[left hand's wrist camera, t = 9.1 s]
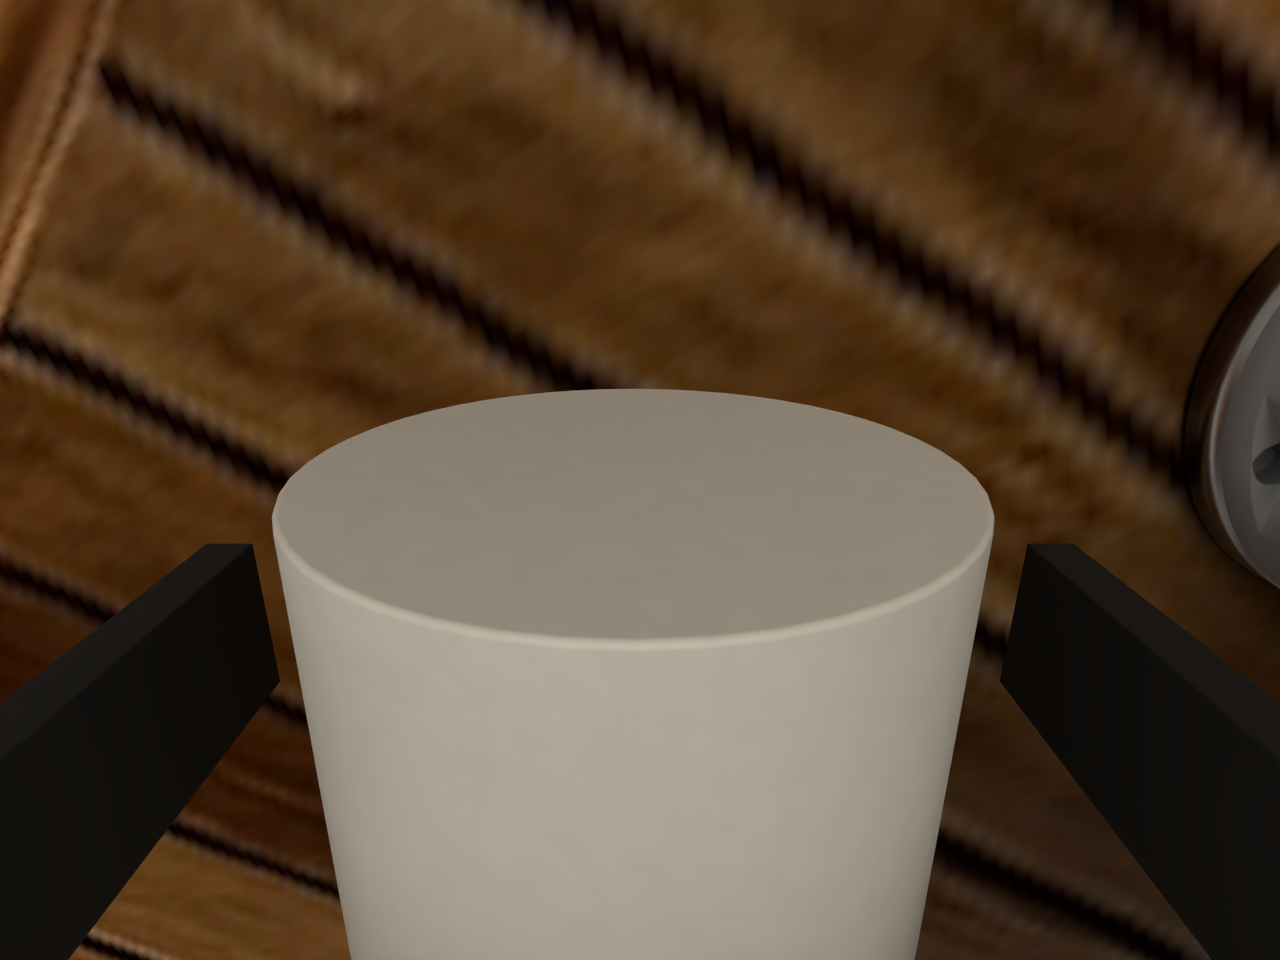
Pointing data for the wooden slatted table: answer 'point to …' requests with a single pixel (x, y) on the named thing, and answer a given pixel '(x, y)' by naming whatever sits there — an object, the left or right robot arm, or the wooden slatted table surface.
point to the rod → (633, 675)
